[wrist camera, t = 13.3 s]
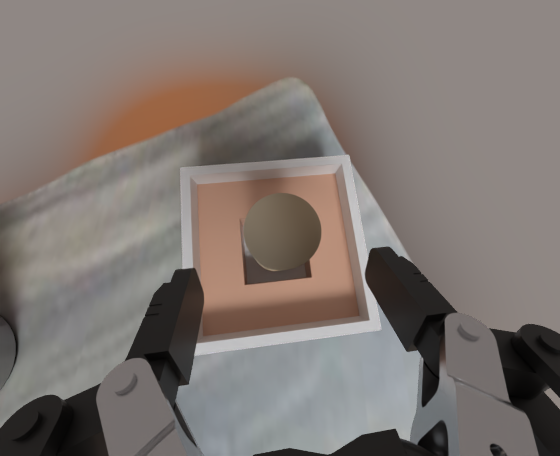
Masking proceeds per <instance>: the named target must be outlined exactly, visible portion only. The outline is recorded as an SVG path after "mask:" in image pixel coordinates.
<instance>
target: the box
mask: <svg viewBox="0 0 560 456" xmlns="http://www.w3.org/2000/svg"><path fill="white" fill-rule="evenodd" d="M180 187H181V227H182V267H183V269H186V268H195V269H196V271H197V274H198V277H199V280H200V283H201V286H202V289H203V292H204V307H203V312H202V317H201V322H200V328H199V333H198V338H197V343H196V349H195V354H194V356H196V355H203V354H211V353H218V352H225V351H232V350H240V349H247V348H254V347H262V346H269V345H276V344H283V343H291V342H298V341H305V340H313V339H320V338H327V337H335V336H342V335H349V334H356V333H364V332H371V331H378V330H382V329H381V324H380V319H379V313H378V308H377V303H376V299H375V297H374V295H373V294H372V292H371V290H370V289H369V287H368V285H367V283H366V280H365V269H366V265H367V261H368V254H367V249H366V243H365V238H364V233H363V227H362V222H361V217H360V211H359V206H358V200H357V195H356V190H355V184H354V179H353V174H352V168H351V163H350V158H349V155H341V156H328V157H314V158H301V159H287V160H274V161H260V162H247V163H233V164H220V165H206V166H193V167H180ZM275 193H289V194H293V195H296V196H298V197H300V198H302V199H304V200H305V201H307V202H308V203H309V204H310V205H311V206H312V207H313V209H314V210H315V211H316V213H317V215H318V217H319V220H320V223H321V230H322V231H321V241H320V244H319V247H318V249H317V251H316V252H315V254H314V255H313V256H312V258H311V259H309V260H308V261H307V262H306V263H304V264H303V265H301V266H299V267H296V268H294V269H289V270H281V271H268V270H266V269H264V268H262V267H261V266H260V265H259V264H258V263H257V261H256V260H255V259H254V257H253V256H252V254H251V253H250V251H249V250H248V248H247V246H246V243H245V240H244V232H243V229H244V222H245V219H246V216H247V214H248V212H249V210H250V209H251V208H252V206H253V205H254V204H255V203H256V202H258V201H259V200H260V199H262V198H263V197H266V196H268V195H271V194H275Z"/></svg>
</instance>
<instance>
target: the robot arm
mask: <svg viewBox="0 0 560 456" xmlns="http://www.w3.org/2000/svg"><path fill="white" fill-rule="evenodd" d="M365 280H366V283H367V285H368V287H369V289H370V290H371V292H372V294H373V295H374V297H375V299H376V300H377V302H378V304H379V305H380V307H381V309H382V311H383V312H384V314H385V316H386V317H387V319H388V321H389V322H390V324H391V326H392V328H393V329H394V331H395V333H396V334H397V336H398V338H399V339H400V341H401V343H402V344H403V346H404V348H405V350H406V351H407V352H410V351H416V350H418V351H419V353H420V354H421V358H420V364H419V380H418V396H417V409H416V414H415V418H414V420H413V424H412V428H411V435H410V441H407V440H404V439H400V438H399V436H398V433H397V431H396V429H391V430H386V431H380V432H375V433H369V434H364V435H361V436H359V437H358V438H356V439H355V440H353V441H351V442H350V443H348V444H347V445H345V446H343V447H342V448H340V449H339V450H337V451H335V452H334V453H332V454H329V455H325V454H320V453H314V452H308V451H303V450H297V449H292V448H288V449H282V450H277V451H271V452H266V453H261V454H255V455H253V456H560V409H559V408H558V407H557V406H556V405H555V404H554V403H553V402H552V400H551V399H550V398H549V397H548V396H547V395H546V394H545V393H544V391H546V390H547V389H549V388H551V389H552V390H553V391H554V392H555V393H556V394H557V395H558V397H559V398H560V334H558V333H557V332H555V331H553V330H551V329H548V328H546V327H543V326H539V325H535V324H527V325H524V326H522V327H521V328H520V329H519V330H518V331H517V332H516V333H515V332H509V331H502V330H496V329H490V328H487V326H486V325H484V324H483V323H482V322H480V321H479V320H477V319H475V318H473V317H471V316H469V315H466V314H462V313H457V311H456V310H455V309H454V308H453V307H452V306H451V305H450V304H449V303H448V301H447V300H446V299H445V298H444V297H443V296H442V295H441V294H440V293H439V292H438V290H436V288H435V287H434V286H433V285H432V284H431V283H430V282H428V279H427V278H426V277H425V276H424V275H423V274H421V272H420V271H419V270H418V268H417V267H416V266H415V265H414V264H413V263H411V262H410V261H408V260H407V259H405V258H404V257H402V256H400V257H398V255H397V254H396V253H395V252H394V251H393V250H392V249H391V248H390V247H380V248H372V249H371V250H370V253H369V257H368V261H367V265H366V269H365ZM203 307H204V292H203V289H202V286H201V283H200V280H199V277H198V274H197V271H196V269H195V268H186V269H177V270H175V272H174V274H173V277H172V280H171V282H170V283H163V285H162V286H161V287H160V288H159V289H158V290H157V291H156V292H155V293H154V295H153V298H152V300H151V302H150V305H149V307H148V309H147V312H146V314H145V317H144V319H143V321H142V323H141V326H140V328H139V330H138V332H137V335H136V337H135V339H134V342H133V344H132V346H131V349H130V351H129V353H128V356H127V358H126V359H125V361H124V362H122V363H121V364H119V365H118V366H116V367H115V368H114V369H113V370H112V371H111V372H110V373H109V374H108V375H107V376H106V377H105V378H104V380H103V381H102V383H100V384H98V385H96V386H94V387H92V388H90V389H88V390H86V391H83V392H81V393H79V394H77V395H74V396H72V397H70V398H68V399H66V400H62V399H61V398H59V397H58V396H56V395H45V396H42V397H39V398H37V399H35V400H33V401H31V402H29V403H28V404H26V405H24V406H23V407H22V408H20V409H19V410H18V411H17V412H16V413H14V414H13V415H12V416H11V417H10V418H9V419H8V420H7V421H6V422H5V423H4V425H3V426H2V427H1V428H0V456H204V455H203V453H202V452H201V450H200V448H199V446H198V444H197V442H196V440H195V438H194V436H193V434H192V432H191V430H190V428H189V426H188V423H187V421H186V419H185V417H184V415H183V413H182V411H181V409H180V407H179V405H178V403H177V401H176V395H177V391H178V386H182V385H188V384H189V380H190V375H191V370H192V365H193V359H194V354H195V349H196V343H197V338H198V333H199V328H200V322H201V317H202V312H203ZM15 355H16V343H15V338H14V334H13V332H12V330H11V328H10V326H9V324H8V323H7V322H6V321H5V320H4V319H3V318H2V317H0V389H1V388H2V387H3V385H4V384H5V382H6V380H7V379H8V377H9V375H10V372H11V370H12V368H13V364H14V360H15Z"/></svg>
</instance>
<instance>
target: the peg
mask: <svg viewBox="0 0 560 456" xmlns="http://www.w3.org/2000/svg"><path fill="white" fill-rule="evenodd" d="M321 231H322V230H321V223H320V220H319V217H318V215H317V213H316V211H315V210H314V209H313V207H312V206H311V205H310V204H309V203H308V202H307V201H305V200H304V199H302V198H300V197H298V196H296V195H293V194H289V193H275V194H271V195H268V196H266V197H263V198H262V199H260V200H259V201H258V202H256V203H255V204H254V205H253V206H252V208H251V209H250V210H249V212H248V214H247V216H246V219H245V222H244V229H243V232H244V240H245V243H246V246H247V248H248V250H249V251H250V253H251V254H252V256H253V257H254V259H255V260H256V261H257V263H258V264H259V265H260V266H261V267H262V268H264V269H266V270H268V271H281V270H289V269H294V268H296V267H299V266H301V265H303V264H304V263H306V262H307V261H308V260H309V259H311V258H312V256H313V255H314V254H315V252H316V251H317V249H318V247H319V244H320V241H321Z"/></svg>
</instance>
